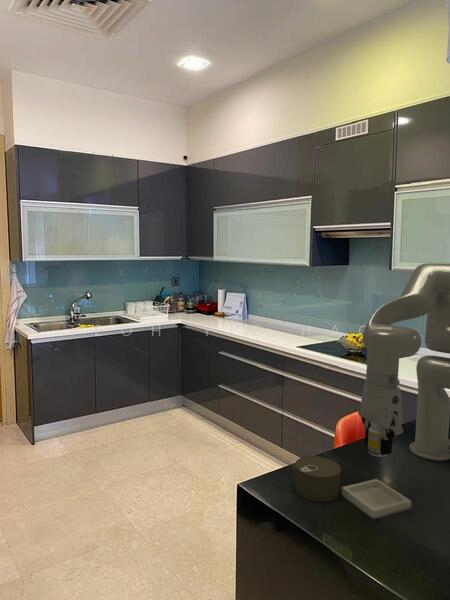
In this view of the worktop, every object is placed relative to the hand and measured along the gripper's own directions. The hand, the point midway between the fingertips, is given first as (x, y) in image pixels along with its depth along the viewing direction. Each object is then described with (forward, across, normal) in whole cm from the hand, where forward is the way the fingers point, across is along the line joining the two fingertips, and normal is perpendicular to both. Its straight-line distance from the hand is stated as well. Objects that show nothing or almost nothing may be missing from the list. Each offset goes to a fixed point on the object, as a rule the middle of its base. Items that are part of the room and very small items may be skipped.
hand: (377, 448), depth 113 cm
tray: (+14, 0, 0) cm, 14 cm away
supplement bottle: (+1, 0, 0) cm, 1 cm away
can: (+14, +11, +10) cm, 21 cm away
